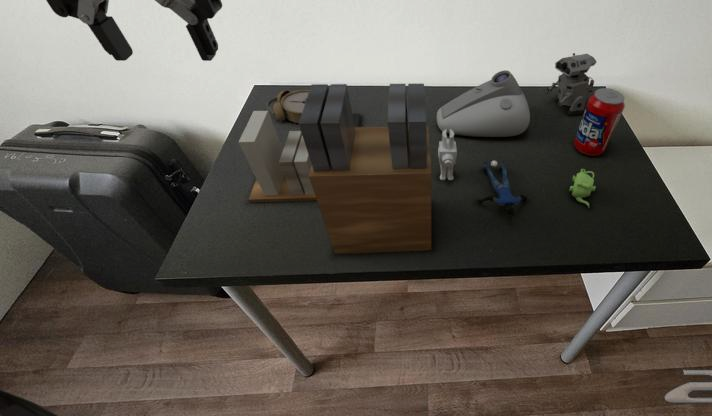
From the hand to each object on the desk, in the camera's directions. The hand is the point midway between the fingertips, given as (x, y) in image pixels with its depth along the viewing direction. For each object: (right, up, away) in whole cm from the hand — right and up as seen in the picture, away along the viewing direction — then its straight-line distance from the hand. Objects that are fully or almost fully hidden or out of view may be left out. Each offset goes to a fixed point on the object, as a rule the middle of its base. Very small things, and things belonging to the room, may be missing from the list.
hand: (168, 57), depth 39 cm
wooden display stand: (-5, -10, +42) cm, 43 cm away
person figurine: (+41, -14, +41) cm, 60 cm away
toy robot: (+29, -9, +45) cm, 55 cm away
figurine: (+62, +12, +66) cm, 92 cm away
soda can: (+65, -1, +54) cm, 85 cm away
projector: (+38, +6, +59) cm, 70 cm away
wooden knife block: (+17, -20, +34) cm, 43 cm away
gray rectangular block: (-8, -10, +41) cm, 43 cm away
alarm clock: (-10, +9, +60) cm, 61 cm away
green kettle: (+59, -13, +42) cm, 74 cm away
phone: (+3, +2, +55) cm, 55 cm away
